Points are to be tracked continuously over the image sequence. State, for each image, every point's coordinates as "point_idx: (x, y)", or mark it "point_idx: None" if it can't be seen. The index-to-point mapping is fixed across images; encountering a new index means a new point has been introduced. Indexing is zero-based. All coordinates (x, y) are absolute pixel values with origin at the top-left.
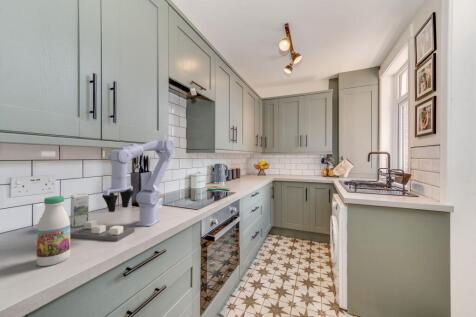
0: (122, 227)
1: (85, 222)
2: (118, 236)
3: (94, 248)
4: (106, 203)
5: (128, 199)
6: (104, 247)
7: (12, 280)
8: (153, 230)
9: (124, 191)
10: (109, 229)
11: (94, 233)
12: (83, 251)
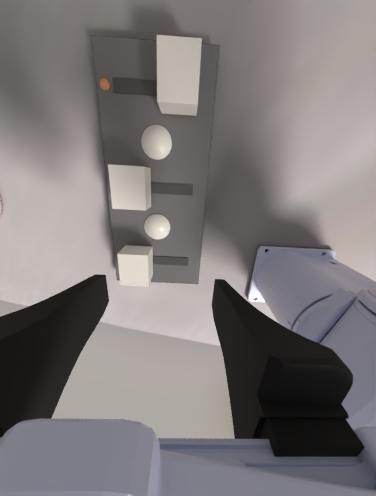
0: (146, 284)
1: (157, 49)
2: None
3: (63, 245)
4: (40, 303)
5: (225, 361)
6: (78, 266)
7: None
8: None
9: (265, 423)
10: (175, 203)
11: None
12: (38, 230)
